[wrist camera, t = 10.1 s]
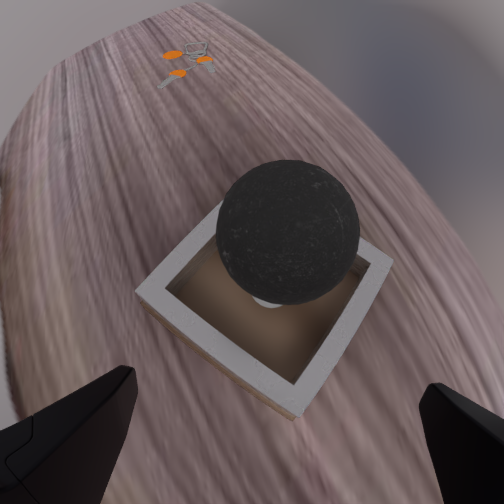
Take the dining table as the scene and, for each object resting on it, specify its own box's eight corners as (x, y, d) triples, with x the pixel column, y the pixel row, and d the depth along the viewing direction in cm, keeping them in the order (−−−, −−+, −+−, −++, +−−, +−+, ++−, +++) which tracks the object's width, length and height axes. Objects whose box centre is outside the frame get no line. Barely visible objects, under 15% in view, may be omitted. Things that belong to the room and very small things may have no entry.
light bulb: (253, 235, 20) (267, 110, 11) (330, 278, 19) (400, 174, 10) (203, 306, 18) (174, 208, 9) (287, 356, 17) (346, 305, 8)
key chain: (163, 48, 36) (163, 43, 35) (214, 43, 37) (214, 38, 36) (153, 92, 30) (152, 86, 29) (218, 85, 31) (218, 79, 30)
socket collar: (292, 416, 15) (299, 417, 13) (144, 302, 18) (134, 290, 16) (381, 273, 20) (394, 260, 18) (251, 189, 22) (253, 170, 20)
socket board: (290, 420, 16) (292, 421, 15) (144, 308, 19) (139, 303, 18) (379, 278, 20) (385, 273, 20) (250, 194, 23) (251, 186, 22)
